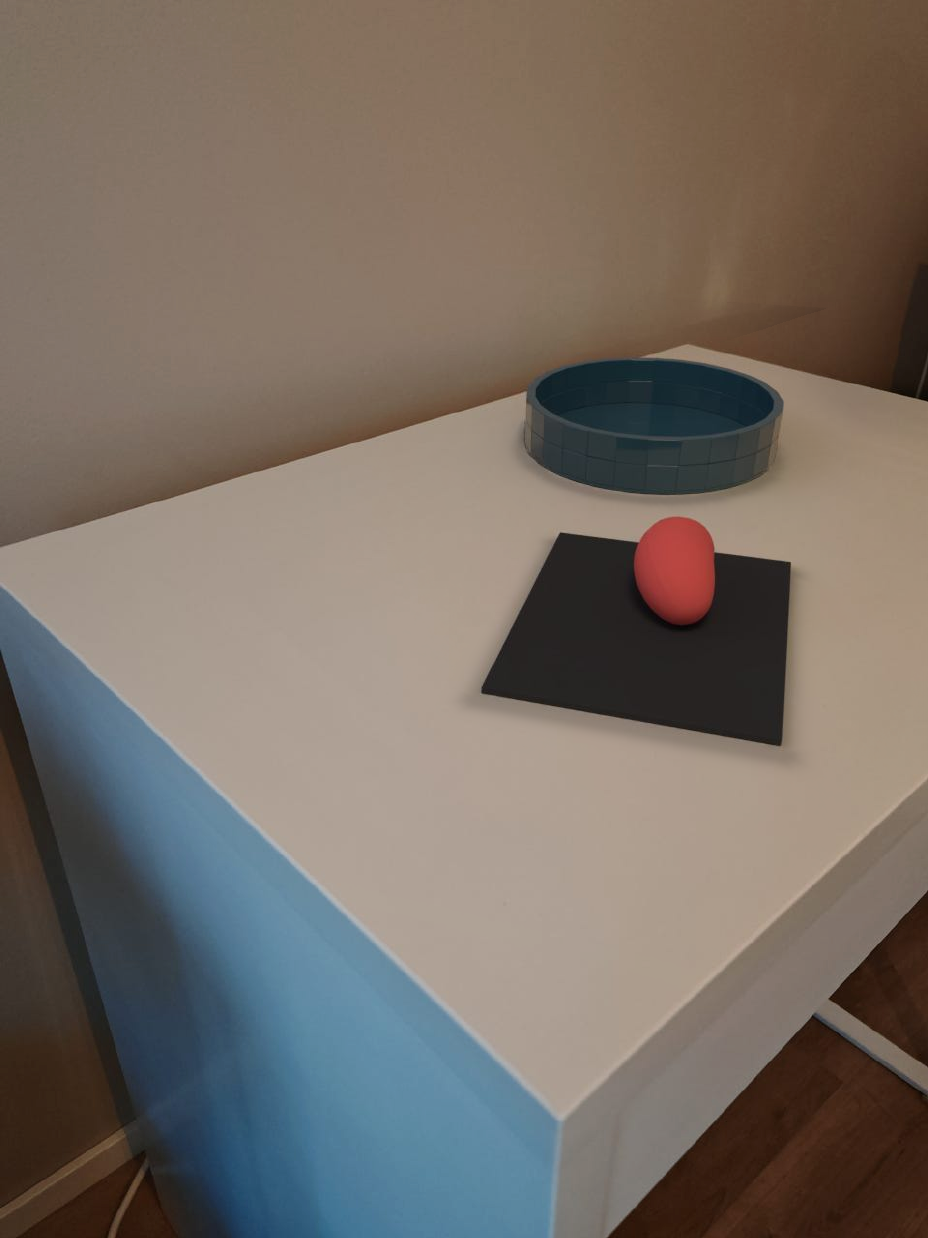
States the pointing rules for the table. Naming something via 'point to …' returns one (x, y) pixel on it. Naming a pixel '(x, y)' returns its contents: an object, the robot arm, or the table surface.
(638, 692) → the mat
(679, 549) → the stress ball
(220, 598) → the table surface
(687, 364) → the bowl
